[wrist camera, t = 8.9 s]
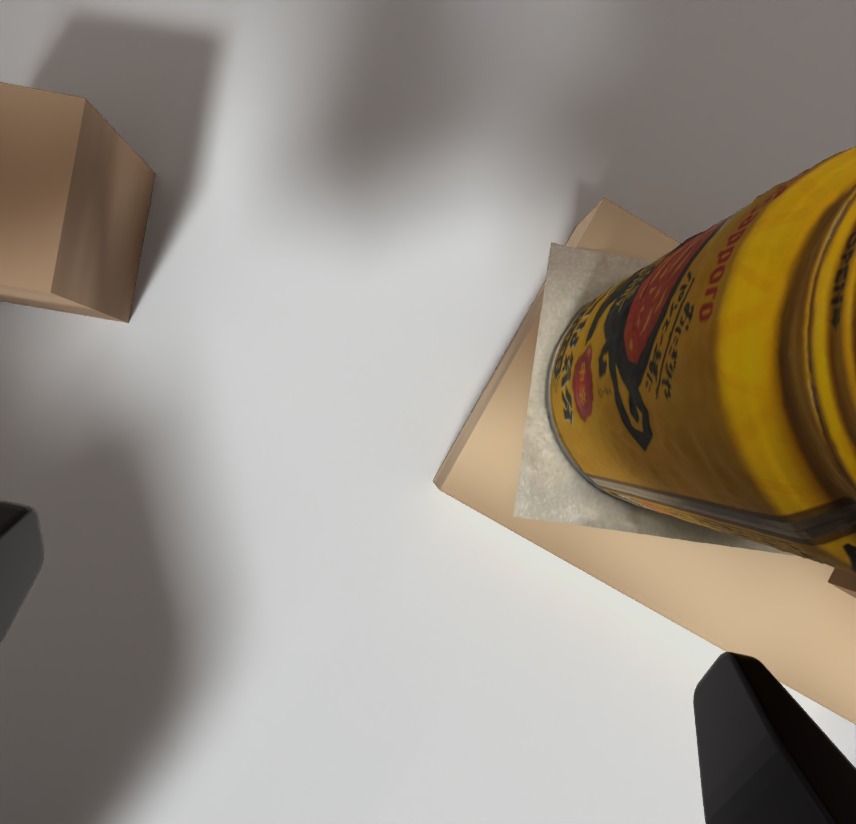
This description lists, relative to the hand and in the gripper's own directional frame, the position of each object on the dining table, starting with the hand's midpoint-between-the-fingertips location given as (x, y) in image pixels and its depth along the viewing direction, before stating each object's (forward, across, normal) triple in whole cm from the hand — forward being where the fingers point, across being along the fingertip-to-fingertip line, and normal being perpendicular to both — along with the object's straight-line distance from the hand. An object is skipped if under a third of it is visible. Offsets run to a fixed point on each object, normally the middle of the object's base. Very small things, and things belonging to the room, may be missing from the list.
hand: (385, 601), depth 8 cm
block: (+12, +11, +2) cm, 16 cm away
